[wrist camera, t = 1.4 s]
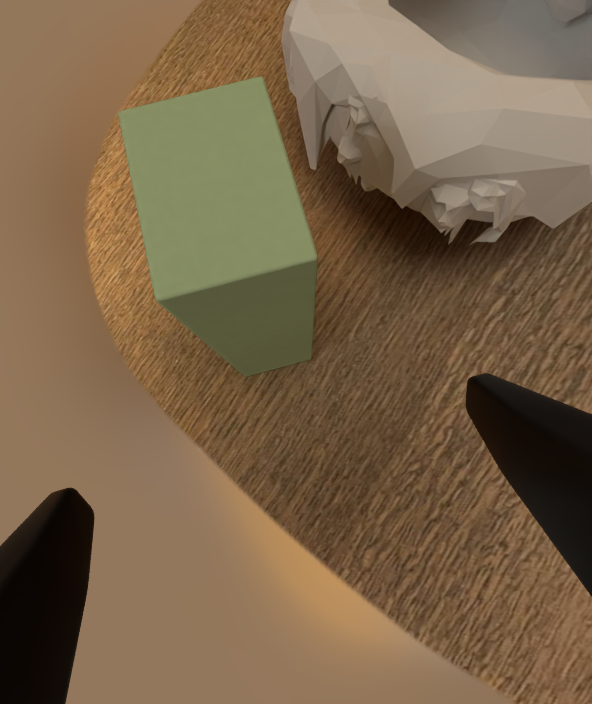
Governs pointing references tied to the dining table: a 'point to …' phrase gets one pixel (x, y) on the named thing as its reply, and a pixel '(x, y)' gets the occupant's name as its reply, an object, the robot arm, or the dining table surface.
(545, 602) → the dining table surface
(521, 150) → the bowl
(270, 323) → the tall sage green pillar
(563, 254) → the dining table surface
